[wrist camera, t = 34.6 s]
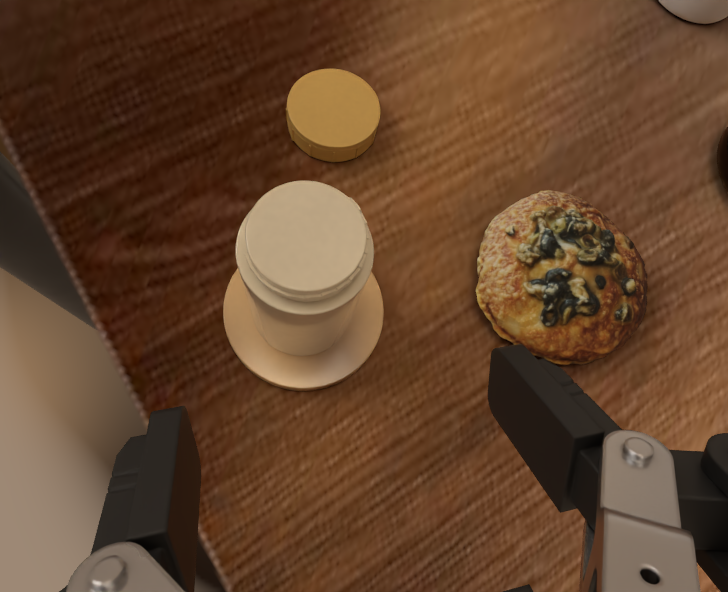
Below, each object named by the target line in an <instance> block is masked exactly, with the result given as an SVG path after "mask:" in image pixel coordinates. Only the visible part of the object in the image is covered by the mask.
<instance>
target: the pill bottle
mask: <svg viewBox="0 0 728 592" xmlns="http://www.w3.org/2000/svg"><path fill="white" fill-rule="evenodd" d="M658 1H659V2H660V3H661V4H662V5H663V6H664V7H665V8H666V9H667V10H669V11H670V12H671V13H673V14H674V15H676V16H678V17H680V18H682V19H684V20H687V21H690V22H694V23H701V24H709V23H714V22H717V21H720V20H722V19H724V18H726V17H727V16H728V0H658Z"/></svg>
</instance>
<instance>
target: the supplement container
mask: <svg viewBox="0 0 728 592" xmlns="http://www.w3.org/2000/svg"><path fill="white" fill-rule="evenodd" d="M717 164H718V170H719V174H720V177H721V180H722V183H723V185H724V187H725V189H726V191H727V192H728V127H727V128H726V130H725V131H724V133H723V135H722V136H721V139H720V142H719V145H718V150H717Z"/></svg>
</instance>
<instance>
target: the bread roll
mask: <svg viewBox="0 0 728 592" xmlns="http://www.w3.org/2000/svg"><path fill="white" fill-rule="evenodd" d="M479 253H480V256H479V257H478V259H477V265H478V268H477V271H478V275H479V281H478V285H477V288H476V294H477V301H478V304H479V306H480V308H481V309H482V310H483V312H484V314H485V316H486V318H487V319H489V320H490V322H491V323H492V326H493V329H494V330H495V331H496V332H497V333H498V335H499V336H500V337H501V338H503V339H506V340H508V341H510V342H512V343H513V344H514V345H516V344H522V345H524V346H525V347H526V348H527V349H528V350H529V351H530V352H531V353H532V354H533V355H535V356H539V357H542V358H544V359H545V360H548V361H551V362H553V363H555V364H567V365H568V364H571V363H573V364H587V363H590V362H592V361H594V360H597V359H601V358H604V357H606V355H608V354H609V353H611V352H613V351H615V350H617V349H619V348H620V347H621V346H623V345H624V344H625V343H626V341H627V340H628V339H630V337H631V335H632V334H633V333H634V332H635V331H636V330H637V328H638V327H639V325H640V324H641V322H642V319H643V317H644V315H645V312H646V305H647V296H646V294H647V287H648V286H647V273H646V271H645V268H644V267H645V264H644V261H643V260H642V258H641V256H640V254H639V253H638V251H637V249H636V248H635V246H634V244H633V242H632V241H631V240H630V239H629V238H628V237H627V236H625V234H624V232H622V231H621V230H620V229H619V228H617V227H616V226H615V225H614V223H613V222H612V221H611V220H609V219H608V218H607V217H606V216H604V215H603V214H602V213H601V212H600V211H599V210H597V209H595V208H594V207H593V206H592V205H591V204H590V203H589V202H586V201H584V200H582V199H581V197H575V196H572V195H570V194H566V193H562V192H557V191H550V190H546V191H540V192H539V193H537V194H532V195H531V196H529V197H527V198H524V199H521V200H519V201H518V202H516V203H515V204H513V205H511V206H510V207H509V208H507V209H506V210H505V211H503V212H502V213H500V214H499V215H497V216H496V217H495V218H494V219H493V220H492V221H491V223H490V224H489V226H488V228H487V229H486V231H485V233H484V238H483V242H482V243H481V246H480V250H479Z"/></svg>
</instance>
